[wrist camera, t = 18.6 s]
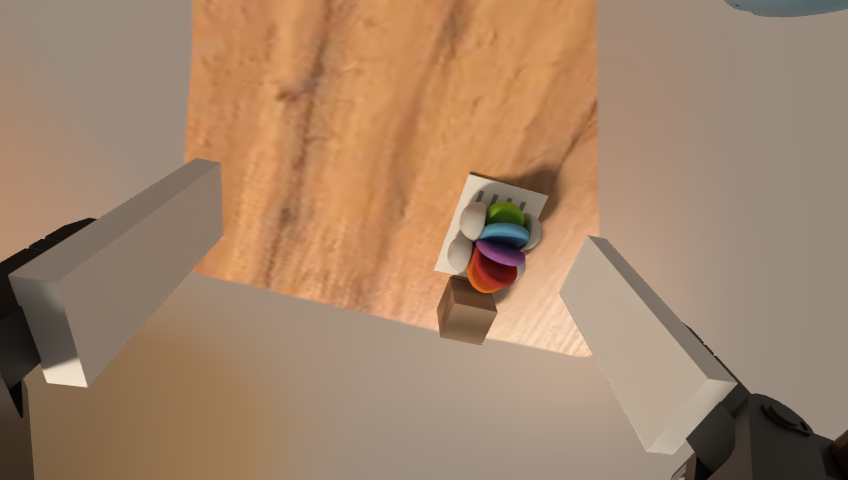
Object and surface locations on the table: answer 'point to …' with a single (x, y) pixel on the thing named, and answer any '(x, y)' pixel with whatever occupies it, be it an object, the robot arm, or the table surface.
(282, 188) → the table surface
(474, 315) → the walnut block
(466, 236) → the rainbow petal toy
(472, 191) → the letter
